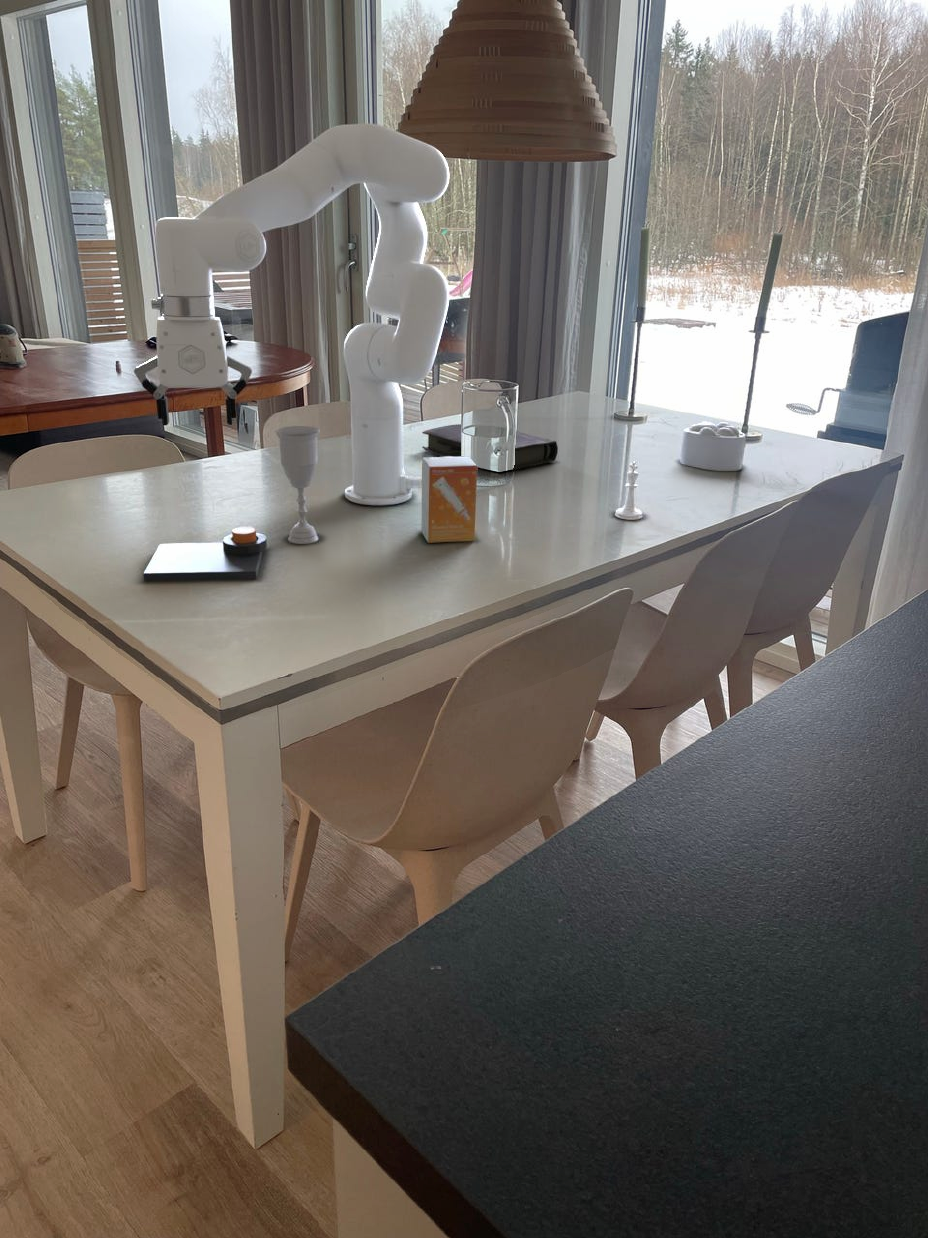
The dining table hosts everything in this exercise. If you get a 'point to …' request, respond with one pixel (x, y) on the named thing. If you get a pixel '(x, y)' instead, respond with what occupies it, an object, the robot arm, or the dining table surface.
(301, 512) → the chalice
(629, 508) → the chess piece
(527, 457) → the diary
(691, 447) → the lumpy-topped squat cylinder
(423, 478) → the small box
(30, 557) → the dining table surface
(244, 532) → the power button
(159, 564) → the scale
